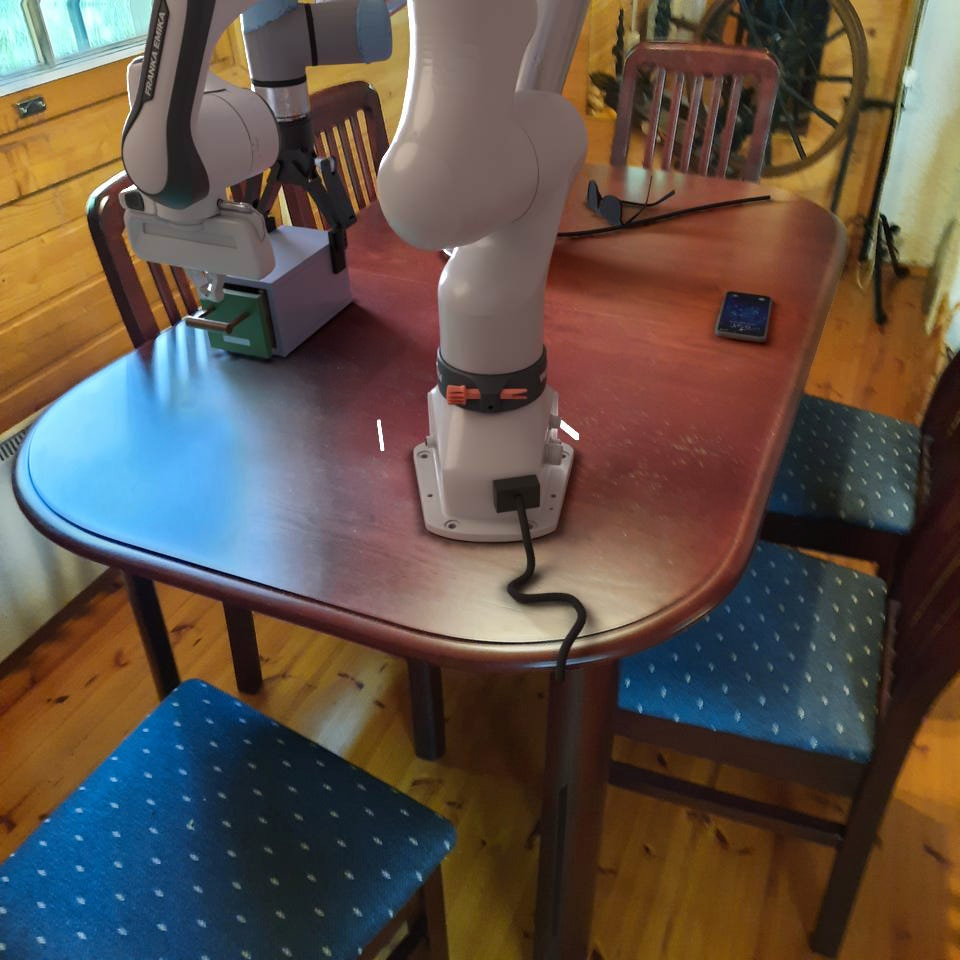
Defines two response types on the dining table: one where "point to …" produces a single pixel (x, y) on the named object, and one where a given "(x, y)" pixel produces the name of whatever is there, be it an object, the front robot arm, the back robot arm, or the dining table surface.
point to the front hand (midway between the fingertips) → (212, 299)
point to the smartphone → (744, 316)
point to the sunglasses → (615, 204)
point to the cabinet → (300, 285)
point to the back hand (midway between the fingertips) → (306, 265)
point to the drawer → (238, 321)
